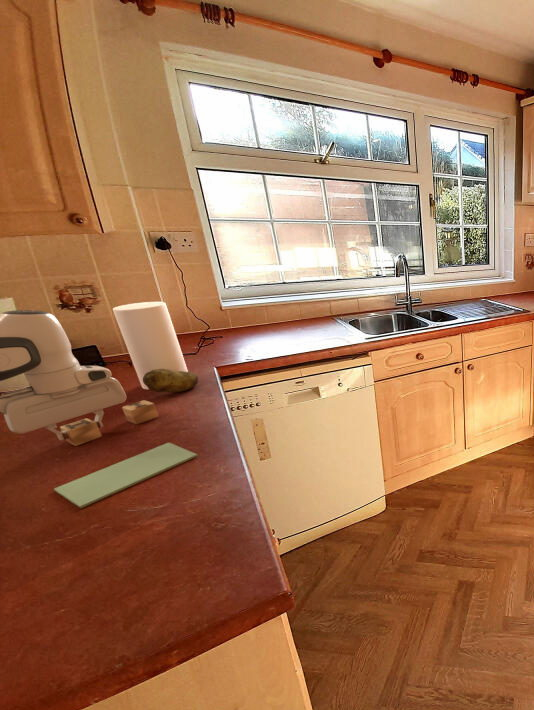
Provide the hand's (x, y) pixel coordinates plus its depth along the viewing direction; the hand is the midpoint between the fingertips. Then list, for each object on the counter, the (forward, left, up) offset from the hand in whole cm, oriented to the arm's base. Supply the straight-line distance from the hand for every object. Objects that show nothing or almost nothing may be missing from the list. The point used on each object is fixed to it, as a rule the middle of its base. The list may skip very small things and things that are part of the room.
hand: (82, 433), depth 102 cm
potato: (+26, +13, -2) cm, 29 cm away
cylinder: (+29, +25, -2) cm, 38 cm away
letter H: (0, 0, -2) cm, 2 cm away
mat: (-2, -28, -2) cm, 28 cm away
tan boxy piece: (+12, 0, -2) cm, 12 cm away
